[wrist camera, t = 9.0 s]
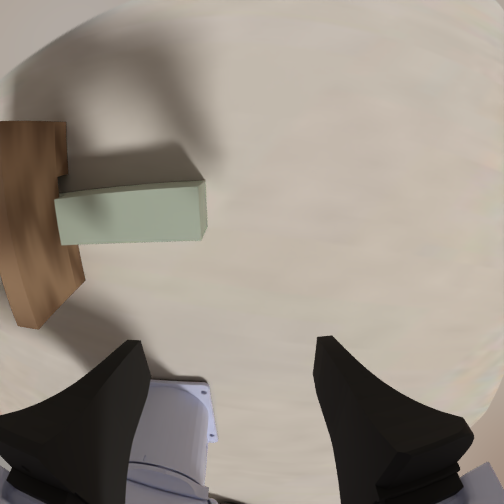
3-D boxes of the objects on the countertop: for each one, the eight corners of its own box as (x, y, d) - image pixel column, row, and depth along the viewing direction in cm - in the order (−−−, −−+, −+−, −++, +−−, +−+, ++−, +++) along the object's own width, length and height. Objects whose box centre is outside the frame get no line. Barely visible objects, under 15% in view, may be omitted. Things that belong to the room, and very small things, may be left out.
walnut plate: (85, 280, 20) (38, 329, 14) (66, 280, 20) (17, 326, 14) (65, 122, 16) (0, 121, 10) (45, 127, 16) (-20, 130, 10)
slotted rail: (207, 226, 19) (201, 240, 16) (-16, 239, 19) (-36, 250, 16) (205, 180, 18) (198, 186, 15) (-22, 208, 18) (-43, 216, 15)
